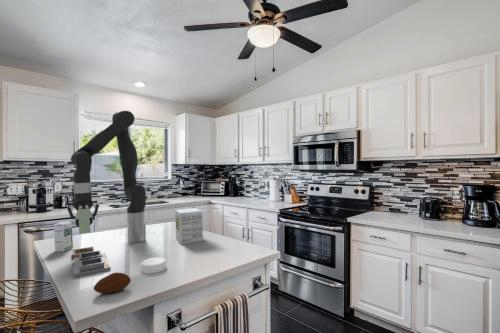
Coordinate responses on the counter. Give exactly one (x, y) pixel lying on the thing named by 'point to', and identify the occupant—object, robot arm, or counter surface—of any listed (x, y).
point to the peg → (84, 221)
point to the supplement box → (189, 225)
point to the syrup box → (63, 236)
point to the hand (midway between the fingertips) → (84, 225)
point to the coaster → (153, 265)
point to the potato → (112, 283)
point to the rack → (91, 263)
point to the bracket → (81, 251)
